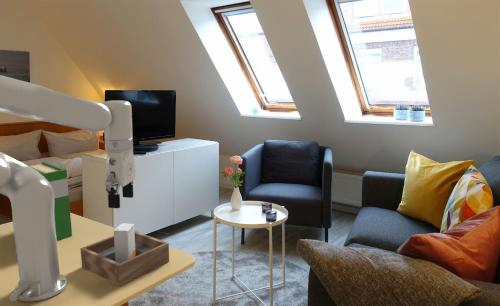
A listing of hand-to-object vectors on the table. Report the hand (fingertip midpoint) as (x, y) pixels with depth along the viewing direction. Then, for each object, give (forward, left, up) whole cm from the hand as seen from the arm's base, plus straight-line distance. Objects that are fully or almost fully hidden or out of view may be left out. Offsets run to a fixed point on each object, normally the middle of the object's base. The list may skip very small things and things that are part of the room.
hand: (121, 202), depth 119 cm
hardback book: (+20, +36, -20) cm, 46 cm away
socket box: (0, 0, -20) cm, 20 cm away
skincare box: (0, 0, -20) cm, 20 cm away
